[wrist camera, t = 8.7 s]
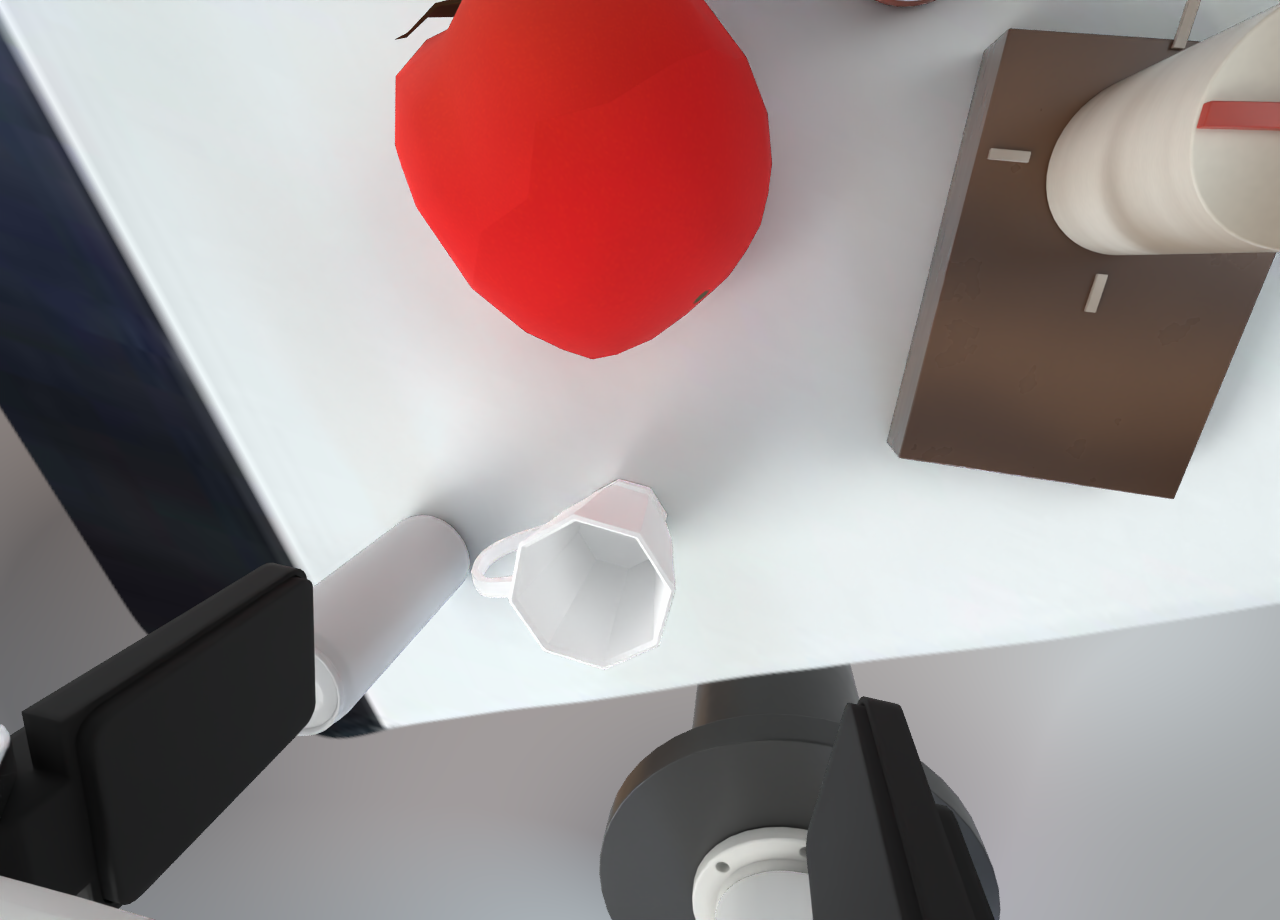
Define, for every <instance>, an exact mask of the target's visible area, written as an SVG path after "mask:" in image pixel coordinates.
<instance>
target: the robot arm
mask: <svg viewBox="0 0 1280 920" xmlns="http://www.w3.org/2000/svg"><path fill="white" fill-rule="evenodd" d="M315 704H316V693H315V649H314V606H313V585H312V583H311V581H309V580H307V577H306V574H305V573H304V571H302V570H301V569H297V568H293V567H288V566H284V565H279V564H275V563H267V564H265V565H262V566H261V567H259V568H257V569H256V570H254V571H252V572H251V573H249V574H248V575H246V576H244V577H243V578H241V579H239V580H238V581H236V582H234V583H233V584H231V585H229V586H228V587H226V588H224V589H223V590H221V591H220V592H218V593H216V594H215V595H213V596H211V597H210V598H208V599H206V600H205V601H203V602H201V603H200V604H198V605H196V606H195V607H193V608H192V609H190V610H188V611H187V612H185V613H183V614H182V615H180V616H178V617H177V618H175V619H173V620H172V621H170V622H168V623H167V624H165V625H164V626H162V627H160V628H159V629H157V630H155V631H154V632H152V633H150V634H149V635H147V636H145V637H144V638H142V639H141V640H139V641H137V642H136V643H134V644H132V645H131V646H129V647H127V648H126V649H124V650H122V651H121V652H119V653H118V654H116V655H114V656H113V657H111V658H109V659H108V660H106V661H104V662H103V663H101V664H100V665H98V666H96V667H94V668H93V669H91V670H90V671H88V672H86V673H85V674H83V675H81V676H80V677H78V678H76V679H75V680H73V681H71V682H70V683H68V684H67V685H65V686H63V687H61V688H60V689H58V690H57V691H55V692H54V693H52V694H50V695H49V696H47V697H45V698H43V699H42V700H40V701H39V702H37V703H35V704H34V705H32V706H30V707H29V708H27V709H25V710H24V711H22V716H23V721H24V727H23V728H21V729H20V730H18V731H16V732H15V733H13V734H12V735H10V734H9V733H8V731H7V730H6V728H5V727H4V726H3V725H1V724H0V920H154V919H151V918H147V917H144V916H141V915H137V914H134V913H131V912H127V911H124V910H121V909H119V908H120V907H121V906H122V905H126V904H130V903H132V902H133V901H135V900H136V899H138V898H139V897H140V896H141V895H142V894H143V893H144V892H145V891H146V890H147V889H148V888H149V887H150V886H151V885H152V884H153V883H154V882H155V881H156V880H157V879H158V878H159V877H160V875H162V873H164V872H165V871H166V869H167V868H168V867H169V866H170V865H171V864H172V863H173V862H174V861H175V860H176V859H177V858H178V857H179V856H180V855H181V854H182V853H183V852H184V851H185V850H186V849H187V848H188V847H189V846H190V845H191V844H192V843H193V842H194V841H195V840H196V838H198V837H199V836H200V835H201V833H202V832H203V831H204V830H205V829H206V828H207V827H208V826H209V825H210V824H211V823H212V822H213V821H214V820H215V819H216V818H217V817H218V816H219V815H220V814H221V813H222V812H223V811H224V810H225V809H226V808H227V807H228V806H229V805H230V804H231V803H232V802H233V801H234V799H235V798H236V797H237V796H238V795H239V794H240V793H241V792H242V791H243V790H244V789H245V788H246V787H247V786H248V785H249V784H250V783H251V782H252V781H253V780H254V779H255V778H256V777H257V776H258V775H259V774H260V773H261V771H263V770H264V769H265V767H267V765H268V764H269V763H270V762H271V761H272V760H273V759H274V758H275V757H276V756H277V755H278V754H279V753H280V752H281V751H282V750H283V749H284V748H285V747H286V746H287V745H288V744H289V743H290V742H291V741H292V739H294V738H295V736H297V735H298V734H299V733H300V732H301V730H302V729H303V728H304V727H305V726H306V725H307V724H308V723H309V721H310V719H311V718H312V715H313V713H314V710H315ZM692 904H693V913H694V916H695V919H696V920H994V917H993V914H992V912H991V909H990V906H989V904H988V901H987V899H986V896H985V893H984V891H983V888H982V885H981V883H980V880H979V877H978V875H977V872H976V870H975V867H974V864H973V862H972V859H971V856H970V854H969V851H968V848H967V846H966V843H965V841H964V838H963V835H962V833H961V830H960V827H959V825H958V822H957V820H956V818H955V816H954V814H953V812H952V811H951V810H950V809H949V808H948V807H947V806H943V805H939V804H935V802H934V799H933V796H932V793H931V790H930V787H929V785H928V782H927V779H926V776H925V773H924V770H923V767H922V765H921V762H920V759H919V756H918V753H917V750H916V747H915V745H914V742H913V739H912V736H911V733H910V730H909V727H908V725H907V722H906V719H905V716H904V713H903V710H902V708H901V706H900V705H898V704H895V703H890V702H886V701H882V700H877V699H873V698H868V697H864V696H863V697H861V698H860V700H859V701H858V704H853V703H847V705H846V707H845V709H844V712H843V715H842V719H841V722H840V725H839V729H838V732H837V735H836V739H835V742H834V745H833V749H832V752H831V755H830V759H829V762H828V765H827V768H826V772H825V775H824V778H823V782H822V785H821V788H820V792H819V795H818V798H817V802H816V805H815V808H814V812H813V815H812V818H811V821H810V825H809V829H808V830H805V829H798V828H790V827H764V828H759V829H753V830H748V831H745V832H742V833H739V834H737V835H734V836H731V837H729V838H727V839H726V840H724V841H722V842H721V843H719V844H718V845H716V846H715V847H714V848H713V849H712V850H711V851H710V852H709V853H708V854H707V855H706V856H705V857H704V859H703V860H702V862H701V863H700V865H699V866H698V869H697V872H696V875H695V878H694V884H693V894H692Z"/></svg>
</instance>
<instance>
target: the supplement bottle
mask: <svg viewBox="0 0 1280 920" xmlns="http://www.w3.org/2000/svg"><path fill="white" fill-rule="evenodd" d="M875 1H878V2H881V3H883V4H886V5H893V6H897V7H907V6H919V5H922V4H927V3H929V2H933V1H935V0H875Z"/></svg>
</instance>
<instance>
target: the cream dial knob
mask: <svg viewBox="0 0 1280 920" xmlns="http://www.w3.org/2000/svg"><path fill="white" fill-rule="evenodd" d="M1046 191H1047V199H1048V203H1049V207H1050V210H1051V213H1052V215H1053V218H1054V220H1055V221H1056V223H1057V224H1058V226H1059V228H1060V229H1061V230H1062V231H1063V232H1064V233H1065V235H1066V236H1068V237H1069V238H1070V239H1071V240H1072V241H1074V242H1075V243H1077V244H1078V245H1080V246H1082V247H1083V248H1086V249H1088V250H1091V251H1093V252H1097V253H1101V254H1107V255H1160V254H1208V253H1257V252H1280V4H1277V5H1275V6H1273V7H1271V8H1269V9H1267V10H1265V11H1263V12H1261V13H1259V14H1257V15H1255V16H1253V17H1251V18H1249V19H1247V20H1245V21H1243V22H1241V23H1238V24H1236V25H1234V26H1232V27H1230V28H1228V29H1226V30H1224V31H1222V32H1220V33H1218V34H1216V35H1214V36H1212V37H1210V38H1208V39H1206V40H1204V41H1202V42H1199V43H1197V44H1195V45H1193V46H1191V47H1189V48H1187V49H1185V50H1183V51H1181V52H1179V53H1177V54H1175V55H1173V56H1171V57H1169V58H1167V59H1165V60H1163V61H1160V62H1158V63H1156V64H1154V65H1152V66H1150V67H1148V68H1146V69H1144V70H1142V71H1140V72H1138V73H1136V74H1134V75H1132V76H1130V77H1128V78H1126V79H1124V80H1121V81H1119V82H1117V83H1115V84H1113V85H1112V86H1110V87H1108V88H1106V89H1105V90H1103V91H1101V92H1100V93H1099V94H1097V95H1096V96H1095V97H1093V98H1092V99H1091V100H1089V101H1088V102H1087V103H1086V104H1085V105H1084V106H1083V107H1082V108H1081V109H1080V110H1079V111H1078V112H1077V113H1076V114H1075V115H1074V116H1073V118H1072V119H1071V120H1070V121H1069V123H1068V124H1067V126H1066V127H1065V128H1064V130H1063V132H1062V133H1061V135H1060V137H1059V139H1058V140H1057V142H1056V145H1055V147H1054V149H1053V152H1052V155H1051V158H1050V161H1049V165H1048V171H1047V180H1046Z"/></svg>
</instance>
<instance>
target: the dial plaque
mask: <svg viewBox="0 0 1280 920" xmlns="http://www.w3.org/2000/svg"><path fill="white" fill-rule="evenodd" d="M1200 2H1201V0H1187V2H1186V5H1185V8H1184V11H1183V14H1182V17H1181V20H1180V23H1179V26H1178V29H1177V32H1176V35H1175V38H1174V40H1172V39H1157V38H1143V37H1128V36H1114V35H1099V34H1085V33H1070V32H1056V31H1041V30H1027V29H1012V28H1010V29H1008V30H1007V31H1006V32H1005V33H1004V34H1003V35H1002V36H1000V37H999V38H998V39H997V40H996V41H995V42H994V43H993V44H992V45H990V46H989V47H988V48H987V49H986V50H985V51H984V53H983V57H982V61H981V65H980V69H979V73H978V78H977V82H976V86H975V90H974V94H973V98H972V102H971V106H970V110H969V114H968V118H967V122H966V126H965V130H964V134H963V138H962V142H961V146H960V150H959V154H958V158H957V162H956V166H955V170H954V174H953V178H952V182H951V186H950V190H949V194H948V198H947V202H946V206H945V210H944V214H943V218H942V222H941V226H940V230H939V234H938V238H937V242H936V246H935V250H934V254H933V258H932V262H931V266H930V270H929V274H928V279H927V283H926V287H925V291H924V295H923V299H922V303H921V307H920V311H919V315H918V319H917V323H916V327H915V331H914V335H913V339H912V343H911V347H910V351H909V355H908V359H907V363H906V367H905V371H904V375H903V379H902V383H901V387H900V391H899V395H898V399H897V403H896V407H895V411H894V415H893V419H892V423H891V427H890V431H889V435H888V439H887V443H888V444H889V446H890V447H891V448H892V450H893V451H894V452H895V453H896V455H897V456H898V457H899V458H903V459H909V460H916V461H922V462H929V463H936V464H942V465H949V466H956V467H962V468H969V469H976V470H982V471H989V472H996V473H1002V474H1009V475H1016V476H1022V477H1029V478H1035V479H1042V480H1049V481H1055V482H1062V483H1069V484H1075V485H1082V486H1089V487H1095V488H1102V489H1109V490H1115V491H1122V492H1128V493H1135V494H1142V495H1148V496H1155V497H1162V498H1168V499H1174V497H1175V495H1176V493H1177V490H1178V488H1179V485H1180V483H1181V481H1182V478H1183V476H1184V473H1185V471H1186V469H1187V466H1188V464H1189V461H1190V459H1191V456H1192V454H1193V452H1194V449H1195V447H1196V444H1197V442H1198V440H1199V437H1200V435H1201V432H1202V430H1203V428H1204V425H1205V423H1206V420H1207V418H1208V416H1209V413H1210V411H1211V408H1212V406H1213V404H1214V401H1215V399H1216V396H1217V394H1218V391H1219V389H1220V387H1221V384H1222V382H1223V379H1224V377H1225V375H1226V372H1227V370H1228V367H1229V365H1230V363H1231V360H1232V358H1233V355H1234V353H1235V351H1236V348H1237V346H1238V343H1239V341H1240V339H1241V336H1242V334H1243V331H1244V329H1245V326H1246V324H1247V322H1248V319H1249V317H1250V314H1251V312H1252V310H1253V307H1254V305H1255V302H1256V300H1257V298H1258V295H1259V293H1260V290H1261V288H1262V286H1263V283H1264V281H1265V278H1266V276H1267V274H1268V271H1269V269H1270V266H1271V264H1272V262H1273V259H1274V257H1275V254H1276V252H1257V253H1208V254H1160V255H1107V254H1101V253H1097V252H1093V251H1091V250H1088V249H1086V248H1083V247H1082V246H1080V245H1078V244H1077V243H1075V242H1074V241H1072V240H1071V239H1070V238H1069V237H1068V236H1066V235H1065V233H1064V232H1063V231H1062V230H1061V229H1060V228H1059V226H1058V224H1057V223H1056V221H1055V220H1054V218H1053V215H1052V213H1051V210H1050V207H1049V203H1048V199H1047V191H1046V180H1047V171H1048V165H1049V161H1050V158H1051V155H1052V152H1053V149H1054V147H1055V145H1056V142H1057V140H1058V139H1059V137H1060V135H1061V133H1062V132H1063V130H1064V128H1065V127H1066V126H1067V124H1068V123H1069V121H1070V120H1071V119H1072V118H1073V116H1074V115H1075V114H1076V113H1077V112H1078V111H1079V110H1080V109H1081V108H1082V107H1083V106H1084V105H1085V104H1086V103H1087V102H1088V101H1089V100H1091V99H1092V98H1093V97H1095V96H1096V95H1097V94H1099V93H1100V92H1101V91H1103V90H1105V89H1106V88H1108V87H1110V86H1112V85H1113V84H1115V83H1117V82H1119V81H1121V80H1124V79H1126V78H1128V77H1130V76H1132V75H1134V74H1136V73H1138V72H1140V71H1142V70H1144V69H1146V68H1148V67H1150V66H1152V65H1154V64H1156V63H1158V62H1160V61H1163V60H1165V59H1167V58H1169V57H1171V56H1173V55H1175V54H1177V53H1179V52H1181V51H1183V50H1185V49H1187V48H1189V47H1191V46H1193V45H1195V44H1197V43H1199V42H1201V41H1187V40H1188V37H1189V34H1190V31H1191V28H1192V25H1193V22H1194V19H1195V16H1196V13H1197V11H1198V8H1199V5H1200Z"/></svg>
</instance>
